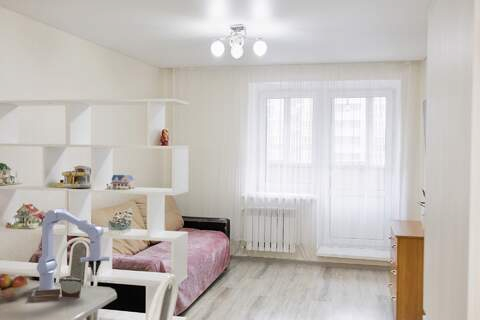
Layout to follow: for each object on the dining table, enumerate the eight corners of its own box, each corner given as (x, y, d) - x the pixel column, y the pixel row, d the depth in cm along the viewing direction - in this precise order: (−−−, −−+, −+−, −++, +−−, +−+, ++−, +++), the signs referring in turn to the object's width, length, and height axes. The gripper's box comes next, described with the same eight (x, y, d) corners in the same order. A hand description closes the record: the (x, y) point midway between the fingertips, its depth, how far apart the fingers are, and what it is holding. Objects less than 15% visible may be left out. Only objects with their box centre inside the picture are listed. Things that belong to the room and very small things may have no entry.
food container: (86, 294, 248) (87, 276, 248) (81, 298, 242) (82, 279, 241) (64, 293, 249) (64, 274, 249) (58, 297, 243) (59, 277, 243)
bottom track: (33, 295, 245) (33, 289, 244) (60, 293, 249) (60, 287, 249) (31, 301, 234) (31, 295, 234) (59, 300, 238) (59, 294, 238)
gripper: (80, 251, 242) (79, 277, 242) (109, 250, 246) (109, 276, 247) (80, 248, 249) (80, 274, 249) (109, 247, 253) (108, 272, 253)
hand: (94, 275), depth 248 cm, fingers closed
